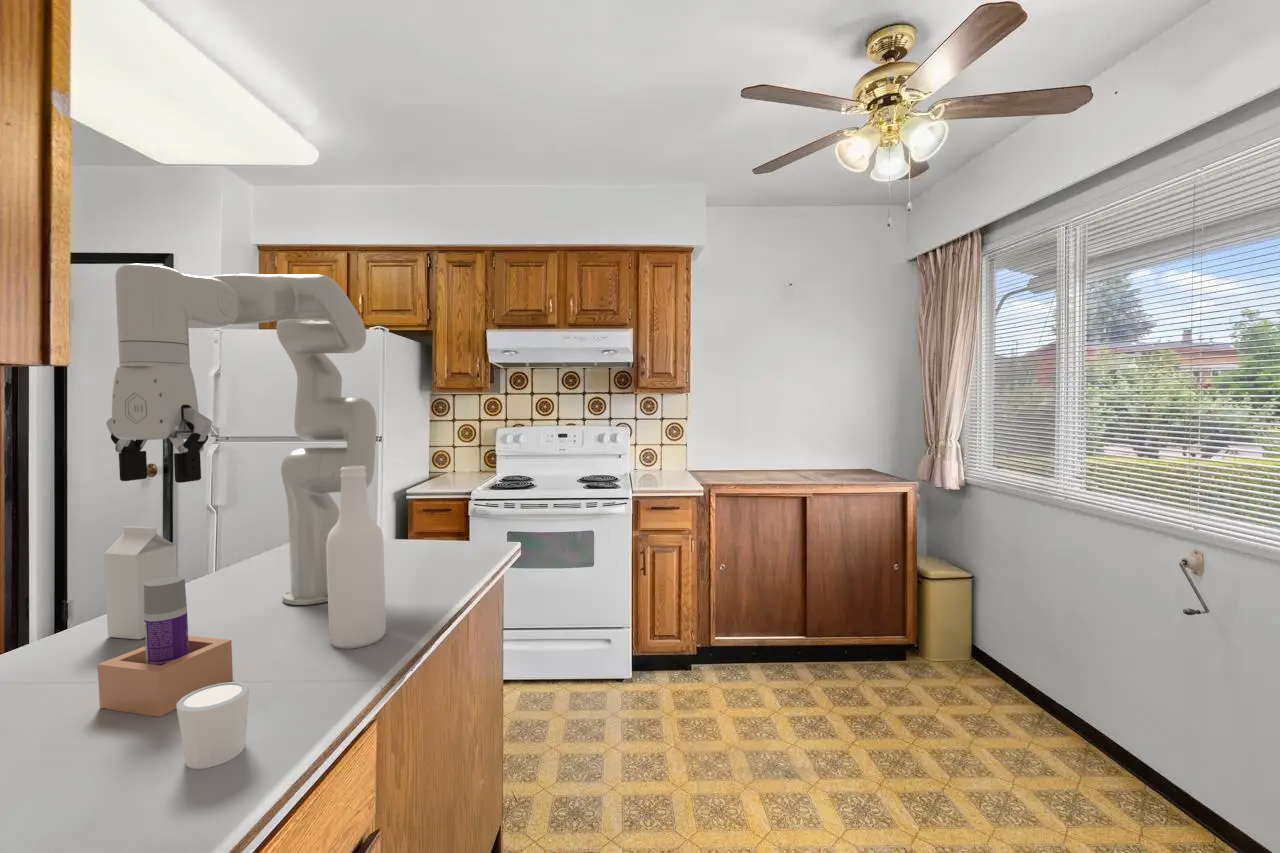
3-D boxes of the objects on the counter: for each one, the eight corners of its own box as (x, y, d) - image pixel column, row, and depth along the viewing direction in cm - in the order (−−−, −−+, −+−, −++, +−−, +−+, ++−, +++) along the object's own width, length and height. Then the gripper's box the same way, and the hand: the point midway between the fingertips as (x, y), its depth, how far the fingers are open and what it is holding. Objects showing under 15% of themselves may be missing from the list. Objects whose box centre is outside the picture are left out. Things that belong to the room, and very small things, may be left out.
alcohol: (318, 650, 96) (312, 469, 95) (347, 629, 105) (342, 464, 104) (370, 650, 96) (365, 469, 94) (395, 629, 104) (390, 463, 103)
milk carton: (139, 640, 101) (135, 532, 100) (107, 637, 102) (102, 530, 101) (179, 625, 108) (175, 523, 107) (148, 622, 109) (144, 522, 108)
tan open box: (177, 673, 88) (176, 634, 88) (232, 679, 86) (231, 640, 85) (99, 708, 78) (97, 664, 78) (159, 717, 76) (157, 671, 75)
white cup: (204, 738, 71) (202, 682, 70) (263, 735, 71) (261, 679, 71) (162, 774, 64) (160, 712, 63) (228, 770, 64) (226, 708, 64)
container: (198, 680, 84) (193, 577, 83) (162, 696, 79) (157, 587, 78) (175, 675, 85) (171, 574, 84) (139, 691, 81) (134, 584, 80)
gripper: (76, 357, 78) (83, 483, 79) (177, 353, 74) (182, 486, 75) (136, 361, 86) (141, 476, 86) (230, 357, 82) (235, 478, 82)
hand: (160, 480), depth 81 cm, fingers open, 9 cm apart
